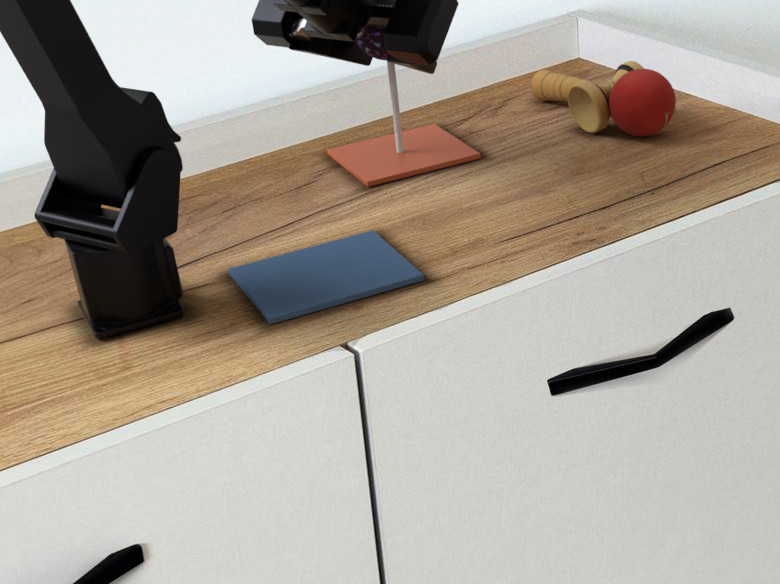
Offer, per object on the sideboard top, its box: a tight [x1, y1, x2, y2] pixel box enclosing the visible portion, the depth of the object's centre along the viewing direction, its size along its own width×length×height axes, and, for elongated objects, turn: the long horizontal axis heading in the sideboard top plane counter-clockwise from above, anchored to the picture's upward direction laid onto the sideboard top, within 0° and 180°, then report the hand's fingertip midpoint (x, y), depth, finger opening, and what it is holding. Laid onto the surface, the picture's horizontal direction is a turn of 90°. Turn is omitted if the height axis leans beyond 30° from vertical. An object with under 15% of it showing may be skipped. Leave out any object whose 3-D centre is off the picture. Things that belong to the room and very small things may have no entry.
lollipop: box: [355, 25, 404, 153], centre depth 116 cm, size 7×7×15 cm
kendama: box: [530, 60, 677, 137], centre depth 124 cm, size 8×6×18 cm
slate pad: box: [227, 229, 425, 325], centre depth 99 cm, size 12×10×1 cm
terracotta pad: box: [326, 123, 482, 188], centre depth 120 cm, size 11×10×1 cm
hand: (401, 64), depth 117 cm, fingers open, 7 cm apart
